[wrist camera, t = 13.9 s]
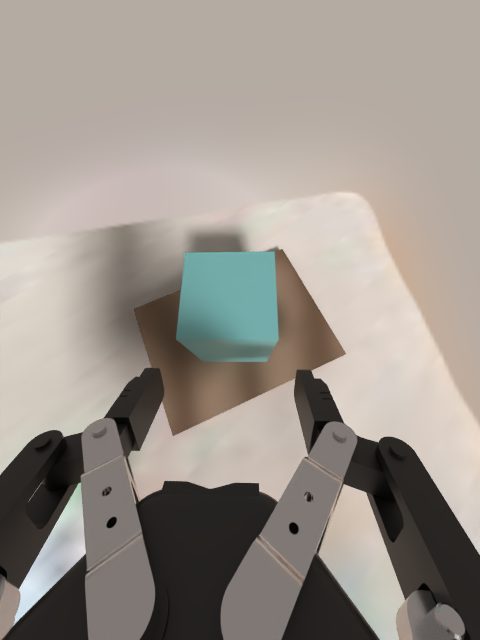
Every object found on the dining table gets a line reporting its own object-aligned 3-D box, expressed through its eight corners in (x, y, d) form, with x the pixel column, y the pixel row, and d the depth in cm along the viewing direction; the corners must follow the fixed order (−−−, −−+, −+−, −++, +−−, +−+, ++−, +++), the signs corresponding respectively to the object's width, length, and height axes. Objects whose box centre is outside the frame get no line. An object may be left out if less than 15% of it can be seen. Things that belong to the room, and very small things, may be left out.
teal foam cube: (203, 361, 20) (175, 339, 12) (206, 303, 22) (185, 252, 14) (266, 361, 20) (278, 339, 12) (265, 302, 22) (274, 251, 14)
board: (177, 433, 19) (172, 435, 18) (139, 313, 23) (133, 309, 22) (340, 356, 21) (346, 354, 20) (280, 255, 25) (282, 249, 24)
